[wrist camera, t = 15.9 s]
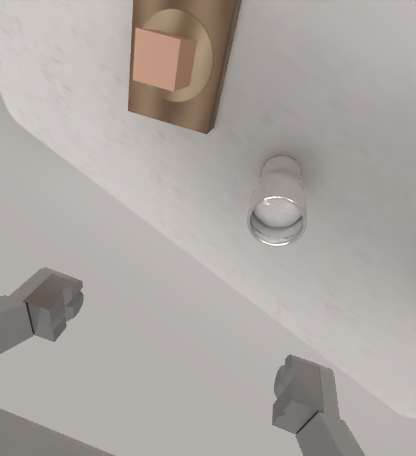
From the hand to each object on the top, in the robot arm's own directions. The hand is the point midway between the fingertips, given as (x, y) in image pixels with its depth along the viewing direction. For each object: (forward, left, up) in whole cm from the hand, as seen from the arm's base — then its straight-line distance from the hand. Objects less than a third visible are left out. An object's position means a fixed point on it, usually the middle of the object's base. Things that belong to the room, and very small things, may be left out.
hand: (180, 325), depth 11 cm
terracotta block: (+13, -5, -33) cm, 35 cm away
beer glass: (-5, +7, -37) cm, 38 cm away
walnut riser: (+13, -5, -37) cm, 40 cm away
